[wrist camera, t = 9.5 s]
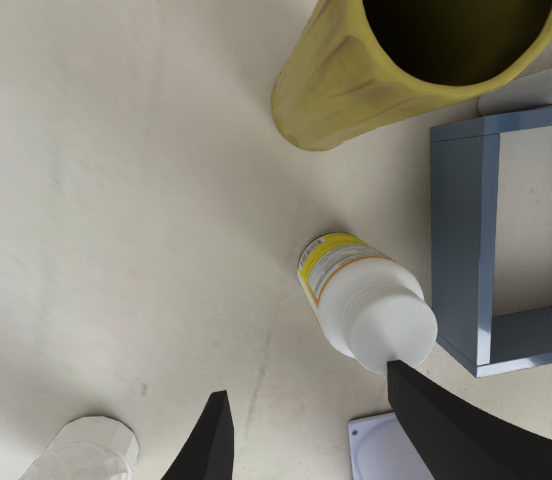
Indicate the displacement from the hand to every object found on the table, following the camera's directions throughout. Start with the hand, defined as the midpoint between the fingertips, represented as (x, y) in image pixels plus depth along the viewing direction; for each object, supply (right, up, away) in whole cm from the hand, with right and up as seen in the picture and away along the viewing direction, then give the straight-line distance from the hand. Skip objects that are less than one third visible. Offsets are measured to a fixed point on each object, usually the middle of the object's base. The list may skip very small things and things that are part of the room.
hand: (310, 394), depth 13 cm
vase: (+1, +16, +7) cm, 18 cm away
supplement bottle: (+3, +5, +10) cm, 12 cm away
